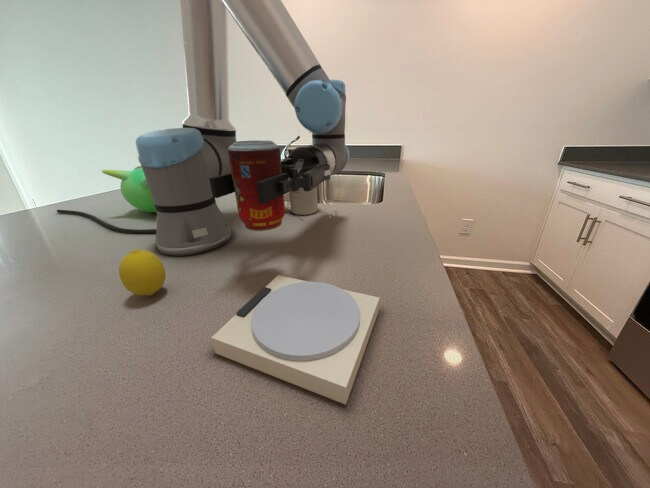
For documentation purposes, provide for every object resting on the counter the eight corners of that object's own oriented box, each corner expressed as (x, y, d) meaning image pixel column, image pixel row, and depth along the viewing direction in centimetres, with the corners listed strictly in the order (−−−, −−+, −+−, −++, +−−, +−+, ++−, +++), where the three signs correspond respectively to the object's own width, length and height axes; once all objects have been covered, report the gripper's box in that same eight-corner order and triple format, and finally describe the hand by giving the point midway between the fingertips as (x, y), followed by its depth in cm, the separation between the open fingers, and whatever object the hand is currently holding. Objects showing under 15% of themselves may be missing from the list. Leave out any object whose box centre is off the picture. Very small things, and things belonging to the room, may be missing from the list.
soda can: (238, 220, 43) (225, 140, 37) (280, 214, 45) (274, 139, 40) (242, 236, 37) (227, 144, 31) (290, 229, 39) (284, 142, 34)
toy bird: (203, 204, 86) (193, 158, 79) (164, 222, 71) (147, 167, 65) (158, 202, 90) (145, 158, 83) (112, 218, 75) (92, 166, 69)
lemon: (143, 286, 43) (125, 242, 39) (177, 283, 43) (163, 240, 40) (122, 307, 38) (100, 260, 34) (161, 304, 38) (143, 257, 35)
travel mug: (309, 205, 82) (306, 145, 74) (322, 212, 76) (320, 147, 68) (286, 210, 78) (280, 147, 70) (298, 217, 72) (293, 149, 64)
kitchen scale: (215, 353, 30) (209, 332, 28) (279, 287, 41) (277, 270, 40) (345, 405, 24) (346, 381, 23) (378, 312, 36) (380, 292, 34)
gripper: (357, 186, 51) (304, 226, 32) (271, 180, 58) (187, 209, 39) (358, 146, 48) (301, 164, 29) (268, 144, 55) (174, 157, 36)
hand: (235, 190), depth 34 cm, fingers closed on soda can, 7 cm apart
